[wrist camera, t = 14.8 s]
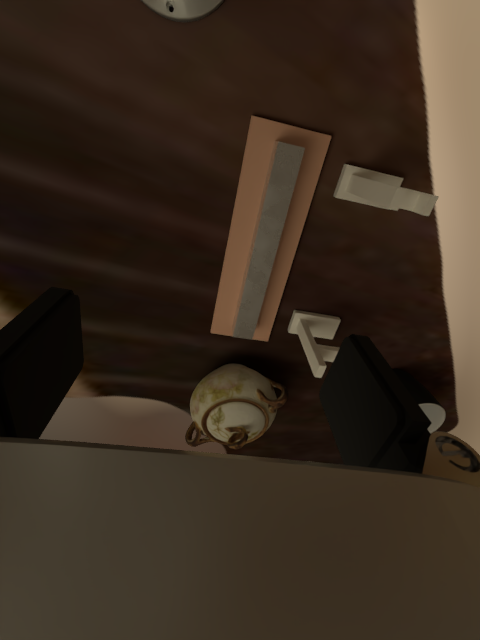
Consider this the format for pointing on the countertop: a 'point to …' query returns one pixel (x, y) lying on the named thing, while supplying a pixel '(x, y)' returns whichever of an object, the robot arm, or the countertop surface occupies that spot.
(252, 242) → the steel rail
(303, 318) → the shelf brackets
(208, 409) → the sugar bowl
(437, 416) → the mug
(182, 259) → the countertop surface
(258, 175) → the terracotta mat
